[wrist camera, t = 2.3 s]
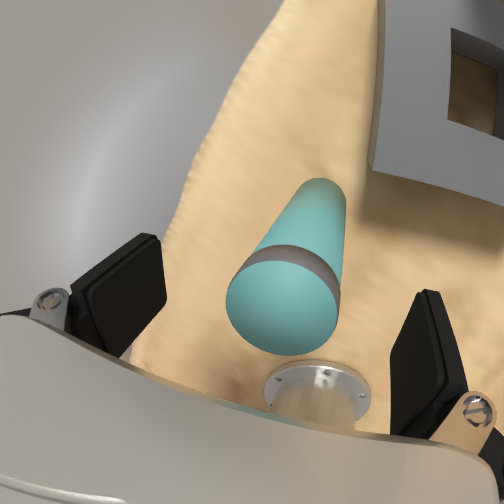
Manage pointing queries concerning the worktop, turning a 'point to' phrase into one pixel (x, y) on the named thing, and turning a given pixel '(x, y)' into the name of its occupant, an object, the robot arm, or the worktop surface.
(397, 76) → the socket block
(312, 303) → the peg
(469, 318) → the worktop surface
